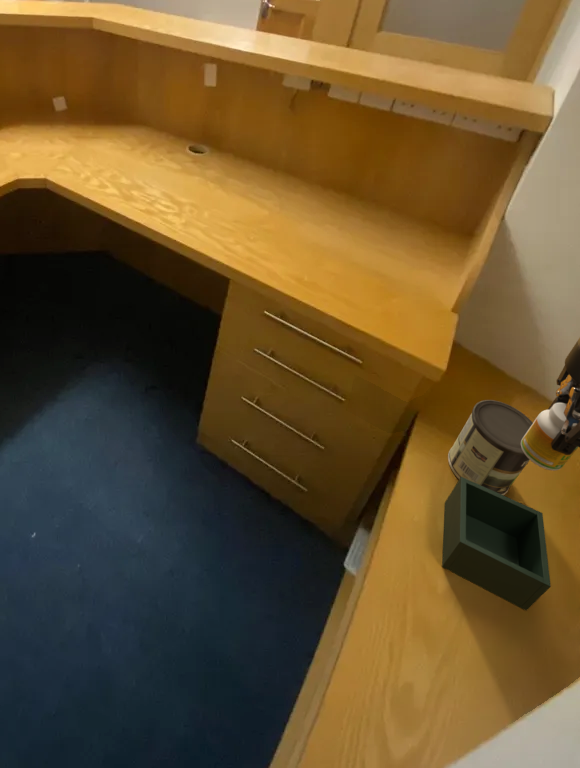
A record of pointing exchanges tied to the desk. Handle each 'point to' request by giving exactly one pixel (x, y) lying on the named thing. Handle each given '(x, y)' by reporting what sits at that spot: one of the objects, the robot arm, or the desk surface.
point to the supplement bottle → (546, 438)
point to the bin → (495, 543)
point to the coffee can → (491, 446)
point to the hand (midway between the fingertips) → (557, 432)
